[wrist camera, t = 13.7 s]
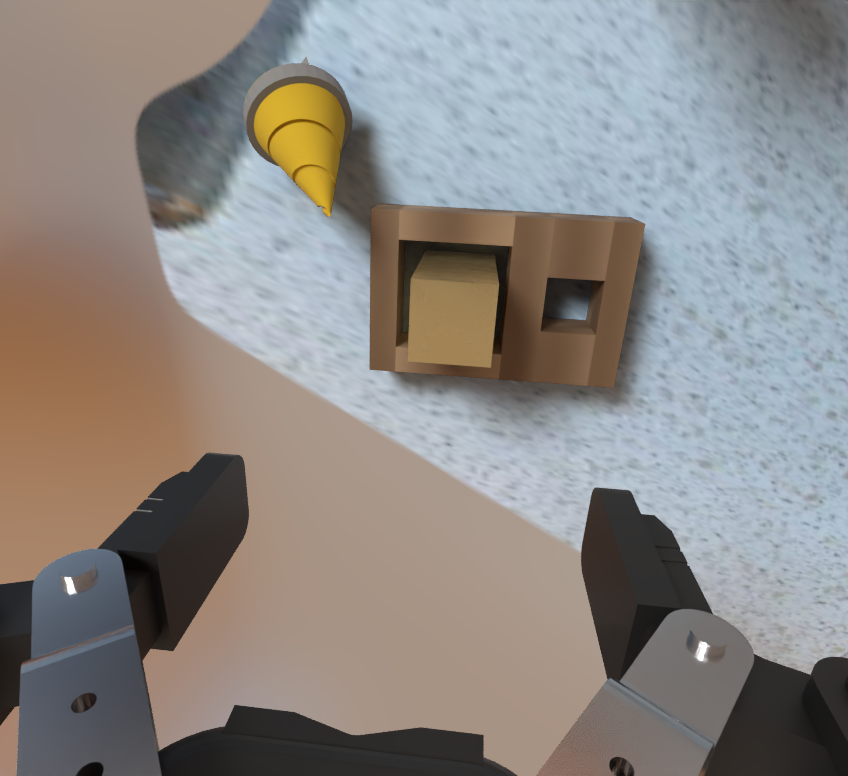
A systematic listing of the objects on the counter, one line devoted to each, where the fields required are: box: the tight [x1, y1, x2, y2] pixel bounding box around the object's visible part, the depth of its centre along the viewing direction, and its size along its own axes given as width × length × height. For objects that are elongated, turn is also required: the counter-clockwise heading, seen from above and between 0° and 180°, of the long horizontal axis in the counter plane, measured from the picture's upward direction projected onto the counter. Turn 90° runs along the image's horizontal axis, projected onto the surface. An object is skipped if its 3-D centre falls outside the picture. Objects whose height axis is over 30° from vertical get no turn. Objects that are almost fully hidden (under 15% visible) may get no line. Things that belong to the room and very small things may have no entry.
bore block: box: [370, 204, 645, 388], centre depth 32 cm, size 14×9×3 cm, turn 87°
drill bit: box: [243, 57, 352, 217], centre depth 28 cm, size 5×5×10 cm
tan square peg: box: [408, 251, 499, 368], centre depth 30 cm, size 4×4×8 cm
